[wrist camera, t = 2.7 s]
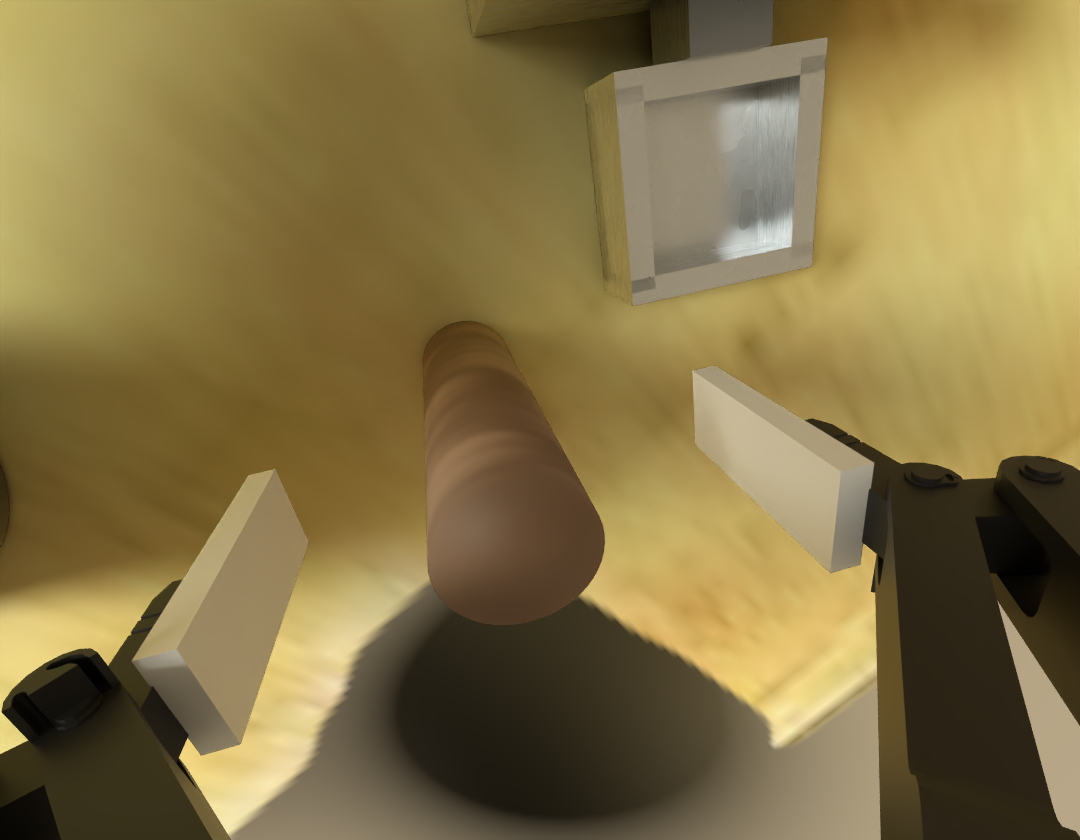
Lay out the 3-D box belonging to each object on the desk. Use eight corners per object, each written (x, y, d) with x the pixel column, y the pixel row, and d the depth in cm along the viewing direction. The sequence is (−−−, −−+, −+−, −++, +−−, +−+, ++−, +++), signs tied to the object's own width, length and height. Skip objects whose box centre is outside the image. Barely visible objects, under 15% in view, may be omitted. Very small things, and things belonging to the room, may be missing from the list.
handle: (435, 412, 25) (452, 644, 12) (412, 331, 23) (405, 507, 10) (516, 392, 25) (613, 597, 13) (500, 312, 23) (594, 458, 11)
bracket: (521, 308, 23) (608, 410, 13) (462, -18, 18) (525, -307, 8) (836, 240, 25) (1141, 279, 15) (864, -73, 20) (1367, -365, 9)
